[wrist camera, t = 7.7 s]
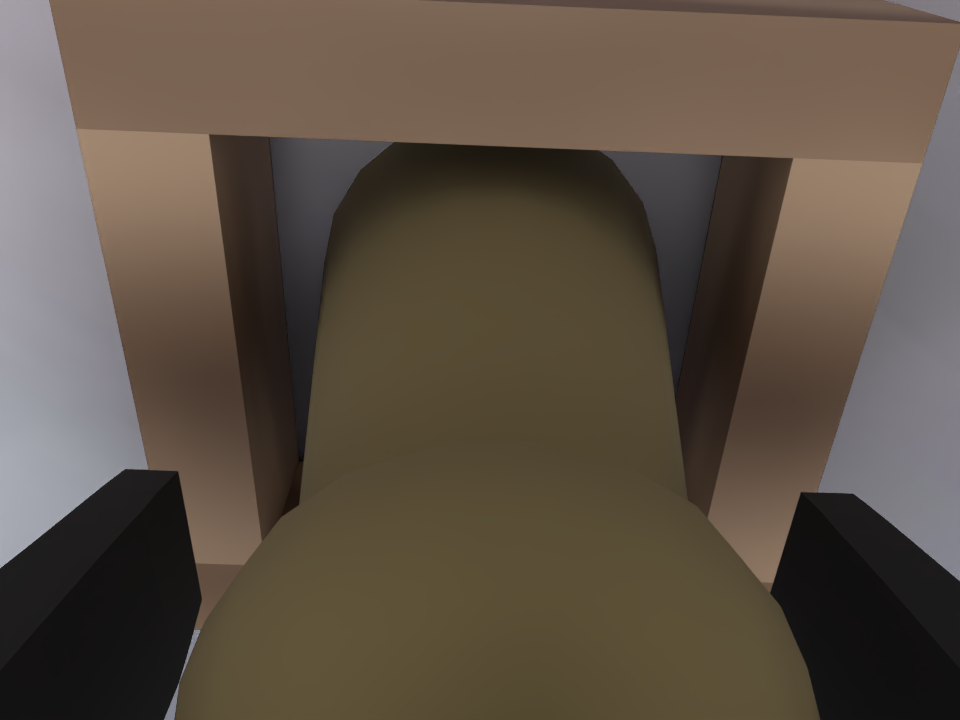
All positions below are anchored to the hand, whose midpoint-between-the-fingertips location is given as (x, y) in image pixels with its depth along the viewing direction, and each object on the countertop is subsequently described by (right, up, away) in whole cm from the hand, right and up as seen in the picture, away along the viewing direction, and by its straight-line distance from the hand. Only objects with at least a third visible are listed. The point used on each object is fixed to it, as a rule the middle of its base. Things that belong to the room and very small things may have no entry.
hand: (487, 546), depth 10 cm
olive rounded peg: (0, +4, +5) cm, 7 cm away
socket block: (0, +3, +5) cm, 6 cm away
